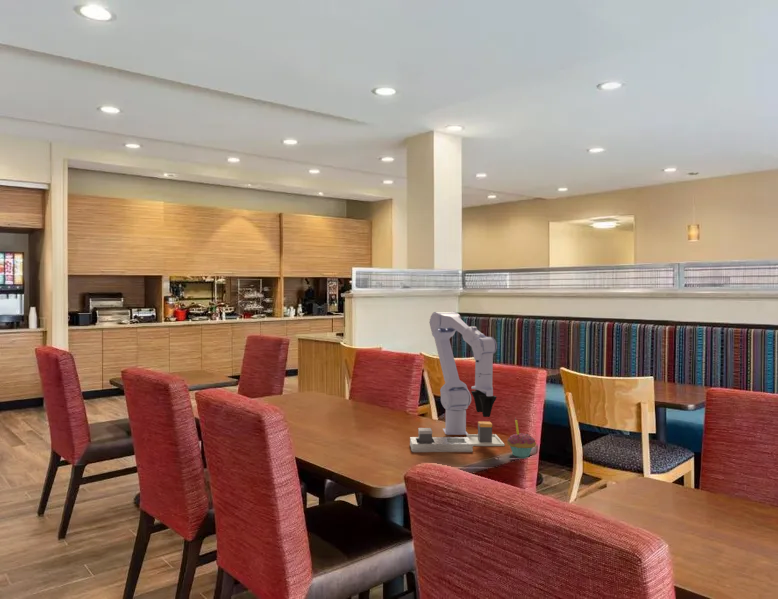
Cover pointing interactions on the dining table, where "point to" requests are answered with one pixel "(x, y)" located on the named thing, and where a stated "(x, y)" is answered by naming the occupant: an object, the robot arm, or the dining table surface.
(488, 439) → the plug
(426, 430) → the twin plug
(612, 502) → the dining table surface
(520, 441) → the cupcake
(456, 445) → the pdu strip
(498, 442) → the tray
